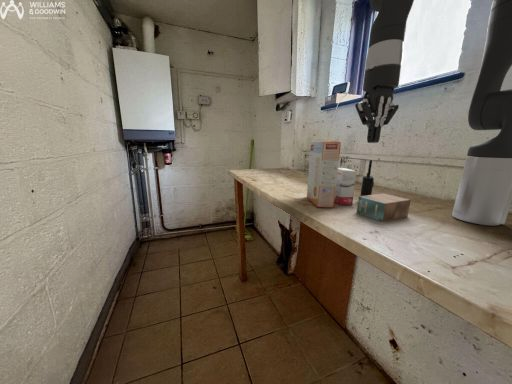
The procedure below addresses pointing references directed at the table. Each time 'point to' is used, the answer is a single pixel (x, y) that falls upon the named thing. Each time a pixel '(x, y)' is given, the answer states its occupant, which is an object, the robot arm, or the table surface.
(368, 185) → the walkie-talkie
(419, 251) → the table surface
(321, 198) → the cracker box
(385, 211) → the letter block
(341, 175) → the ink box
